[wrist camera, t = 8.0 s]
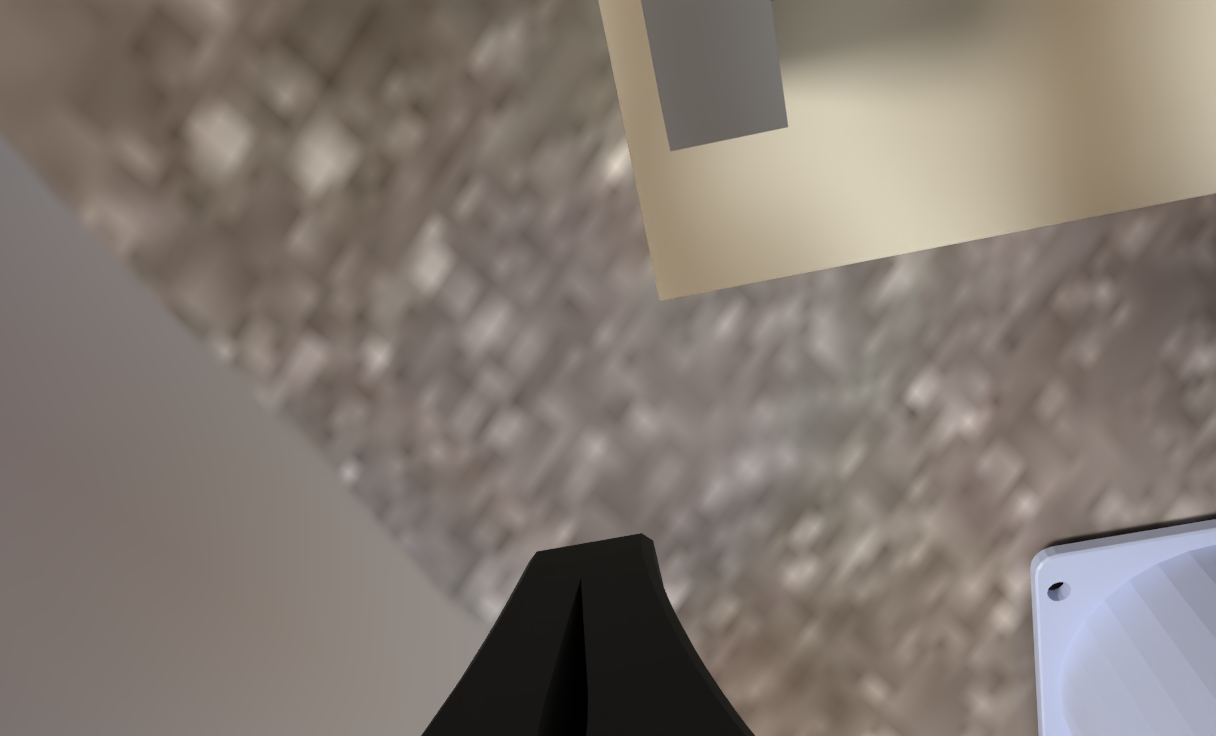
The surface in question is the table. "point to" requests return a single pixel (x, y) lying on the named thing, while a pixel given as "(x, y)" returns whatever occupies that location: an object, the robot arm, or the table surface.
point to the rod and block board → (900, 123)
